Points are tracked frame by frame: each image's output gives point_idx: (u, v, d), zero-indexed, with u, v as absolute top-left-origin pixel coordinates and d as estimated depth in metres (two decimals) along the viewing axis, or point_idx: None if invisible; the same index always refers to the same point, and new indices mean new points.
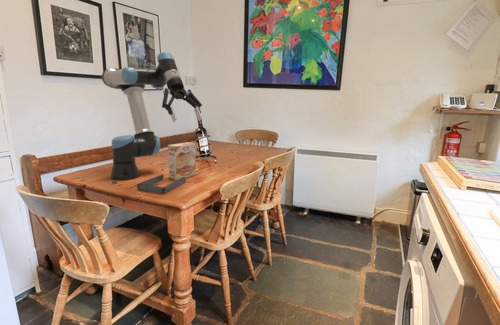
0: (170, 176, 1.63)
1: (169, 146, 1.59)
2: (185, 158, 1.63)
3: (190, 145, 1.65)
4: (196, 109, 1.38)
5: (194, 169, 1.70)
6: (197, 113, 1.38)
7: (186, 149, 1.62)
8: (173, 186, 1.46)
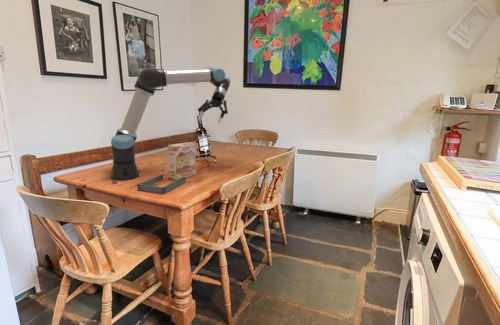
0: (170, 176, 1.63)
1: (169, 146, 1.59)
2: (185, 158, 1.63)
3: (190, 145, 1.65)
4: (202, 114, 1.80)
5: (194, 169, 1.70)
6: (201, 116, 1.79)
7: (186, 149, 1.62)
8: (173, 186, 1.46)
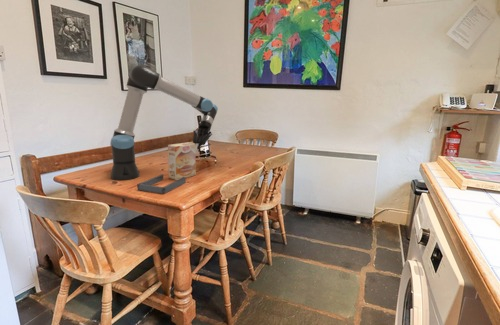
0: (170, 176, 1.63)
1: (169, 146, 1.59)
2: (185, 158, 1.63)
3: (190, 145, 1.65)
4: None
5: (194, 169, 1.70)
6: None
7: (186, 149, 1.62)
8: (173, 186, 1.46)
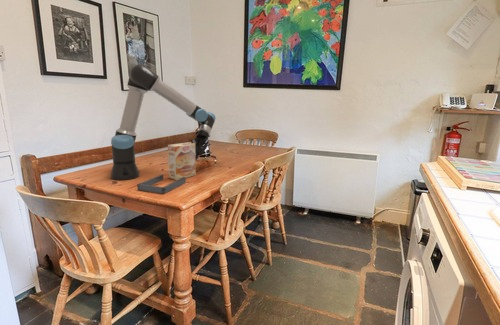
0: (170, 176, 1.63)
1: (169, 146, 1.59)
2: (185, 158, 1.63)
3: (190, 145, 1.65)
4: None
5: (194, 169, 1.70)
6: None
7: (185, 149, 1.62)
8: (173, 186, 1.46)
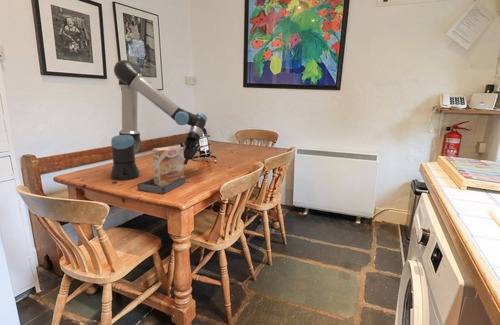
0: (155, 182, 1.51)
1: (153, 150, 1.47)
2: (171, 163, 1.50)
3: (177, 149, 1.52)
4: None
5: (182, 175, 1.57)
6: None
7: (172, 153, 1.50)
8: (173, 186, 1.46)
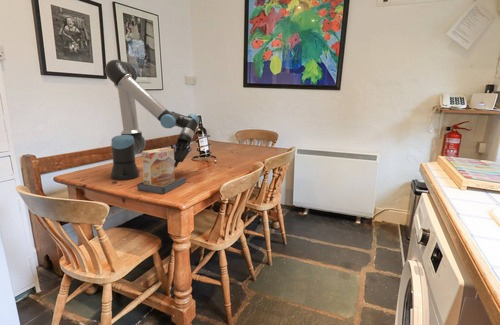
0: None
1: (143, 152, 1.40)
2: (162, 165, 1.44)
3: (168, 151, 1.46)
4: None
5: (173, 178, 1.52)
6: None
7: (162, 155, 1.43)
8: (173, 186, 1.46)
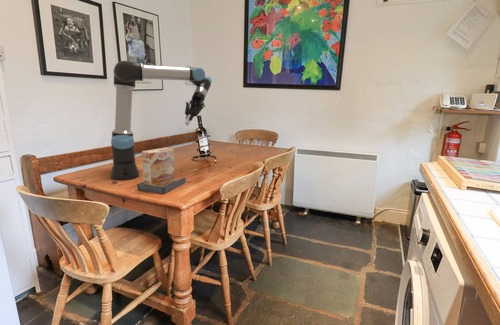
0: None
1: (143, 153, 1.40)
2: (162, 165, 1.44)
3: (168, 151, 1.46)
4: None
5: (173, 178, 1.52)
6: None
7: (162, 155, 1.43)
8: (173, 186, 1.46)
